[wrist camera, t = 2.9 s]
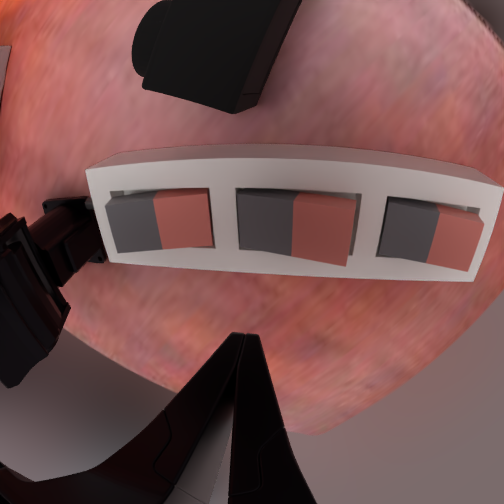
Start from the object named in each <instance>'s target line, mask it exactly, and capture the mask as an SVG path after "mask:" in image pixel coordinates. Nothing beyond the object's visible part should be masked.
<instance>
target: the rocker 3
mask: <svg viewBox="0 0 504 504" xmlns="http://www.w3.org/2000/svg"><path fill="white" fill-rule="evenodd" d="M483 227H484V223H483V221H482V220H481V218H480V217H479V215H478V214H475V213H472V212H468V211H464V210H460V209H456V208H452V207H448V206H444V205H439V204H435V203H431V202H426V201H421V200H417V199H411V198H403V197H393V196H387V202H386V208H385V214H384V219H383V225H382V230H381V235H380V240H379V254H381V255H386V256H391V257H397V258H402V259H407V260H412V261H417V262H422V263H427V264H432V265H437V266H442V267H446V268H451V269H456V270H461V271H465V272H468V270H469V268H470V265H471V262H472V260H473V257H474V254H475V251H476V249H477V246H478V243H479V240H480V237H481V234H482V231H483Z"/></svg>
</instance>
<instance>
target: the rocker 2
mask: <svg viewBox="0 0 504 504" xmlns="http://www.w3.org/2000/svg"><path fill="white" fill-rule="evenodd" d="M237 198H238V216H239V233H240V247H244V248H249V249H255V250H260V251H265V252H270V253H276V254H281V255H286V256H291V257H297V258H302V259H307V260H312V261H318V262H323V263H328V264H333V265H339V266H344V267H346V264H347V259H348V255H349V249H350V243H351V236H352V230H353V223H354V215H355V208H356V200H353V199H346V198H340V197H334V196H327V195H320V194H313V193H306V192H298V191H291V190H283V189H274V188H244V189H243V190H242V191H240V192H239V193H238V194H237Z"/></svg>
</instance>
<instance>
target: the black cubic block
mask: <svg viewBox="0 0 504 504" xmlns="http://www.w3.org/2000/svg"><path fill="white" fill-rule="evenodd" d="M301 2H302V0H162V1H160V2H158V3H156V4H155V5H154V6H152V7H151V8H150V9H149V10H148V12H147V13H146V14H145V15H144V17H143V18H142V20H141V22H140V24H139V26H138V28H137V30H136V33H135V36H134V40H133V45H132V63H133V66H134V69H135V71H136V72H137V74H138V75H140V76H142V77H144V79H143V83H142V88H143V89H145V90H150V91H155V92H159V93H163V94H167V95H170V96H174V97H178V98H181V99H185V100H189V101H192V102H195V103H199V104H202V105H205V106H209V107H212V108H215V109H218V110H221V111H224V112H227V113H230V114H237V113H239V112H242V111H244V110H247V109H249V108H252V107H254V106H256V105H257V103H258V100H259V98H260V95H261V93H262V90H263V88H264V86H265V83H266V81H267V78H268V76H269V74H270V71H271V69H272V66H273V64H274V62H275V59H276V57H277V55H278V52H279V50H280V48H281V46H282V43H283V41H284V39H285V37H286V34H287V32H288V30H289V28H290V26H291V23H292V21H293V19H294V17H295V15H296V13H297V10H298V8H299V6H300V4H301Z"/></svg>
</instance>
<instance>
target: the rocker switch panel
mask: <svg viewBox="0 0 504 504" xmlns="http://www.w3.org/2000/svg"><path fill="white" fill-rule="evenodd" d="M85 171H86V176H87V181H88V185H89V190H90V194H91V197H88V198H87V199H86V201H85V206H86V208H87V209H88V210H93V209H94V210H95V214H96V217H97V221H98V225H99V228H100V232H101V235H102V239H103V242H104V245H105V248H106V252H107V255H108V258H109V261H110V262H114V263H125V264H137V265H149V266H161V267H174V268H187V269H201V270H215V271H230V272H245V273H261V274H278V275H296V276H315V277H336V278H359V279H385V280H416V281H459V282H473V281H474V279H475V277H476V274H477V272H478V269H479V267H480V264H481V262H482V259H483V257H484V254H485V251H486V248H487V246H488V243H489V240H490V237H491V234H492V231H493V228H494V224H495V221H496V218H497V214H498V211H499V207H500V203H501V199H502V195H503V191H504V187H502V186H501V185H499V184H498V183H496V182H495V181H493V180H492V179H490V178H489V177H487V176H486V175H484V174H483V173H481V172H480V171H478V170H476V169H475V168H472V167H468V166H463V165H459V164H454V163H449V162H444V161H439V160H434V159H429V158H423V157H417V156H411V155H404V154H398V153H390V152H383V151H375V150H366V149H356V148H345V147H333V146H318V145H297V144H216V145H195V146H180V147H168V148H157V149H147V150H138V151H130V152H122V153H117V154H115V155H113V156H111V157H109V158H107V159H105V160H103V161H101V162H99V163H97V164H95V165H93V166H91V167H89V168H87V169H85ZM178 188H208V190H209V200H210V210H211V219H212V229H213V245H212V246H200V247H188V248H176V249H164V250H152V251H140V252H129V253H117V250H116V246H115V243H114V239H113V236H112V232H111V229H110V225H109V221H108V217H107V213H106V209H105V205H106V204H107V203H108V201H109V200H110V199H111V198H112V197H115V196H122V195H129V194H136V193H144V192H152V191H160V190H169V189H178ZM244 188H274V189H283V190H291V191H298V192H306V193H313V194H320V195H327V196H334V197H340V198H346V199H353V200H356V208H355V215H354V223H353V230H352V236H351V243H350V249H349V255H348V259H347V264H346V267H344V266H339V265H333V264H328V263H323V262H318V261H312V260H307V259H302V258H297V257H291V256H286V255H281V254H276V253H270V252H265V251H260V250H255V249H249V248H244V247H240V233H239V216H238V198H237V194H238V193H239V192H240V191H242V190H243V189H244ZM387 196H393V197H403V198H411V199H417V200H421V201H426V202H431V203H435V204H439V205H444V206H448V207H452V208H456V209H460V210H464V211H468V212H472V213H475V214H478V215H479V217H480V218H481V220H482V221H483V223H484V227H483V231H482V234H481V237H480V240H479V243H478V246H477V249H476V251H475V254H474V257H473V260H472V262H471V265H470V268H469V270H468V272H465V271H461V270H456V269H451V268H446V267H442V266H437V265H432V264H427V263H422V262H417V261H412V260H407V259H402V258H397V257H391V256H386V255H381V254H379V240H380V235H381V230H382V225H383V219H384V214H385V208H386V202H387Z"/></svg>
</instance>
